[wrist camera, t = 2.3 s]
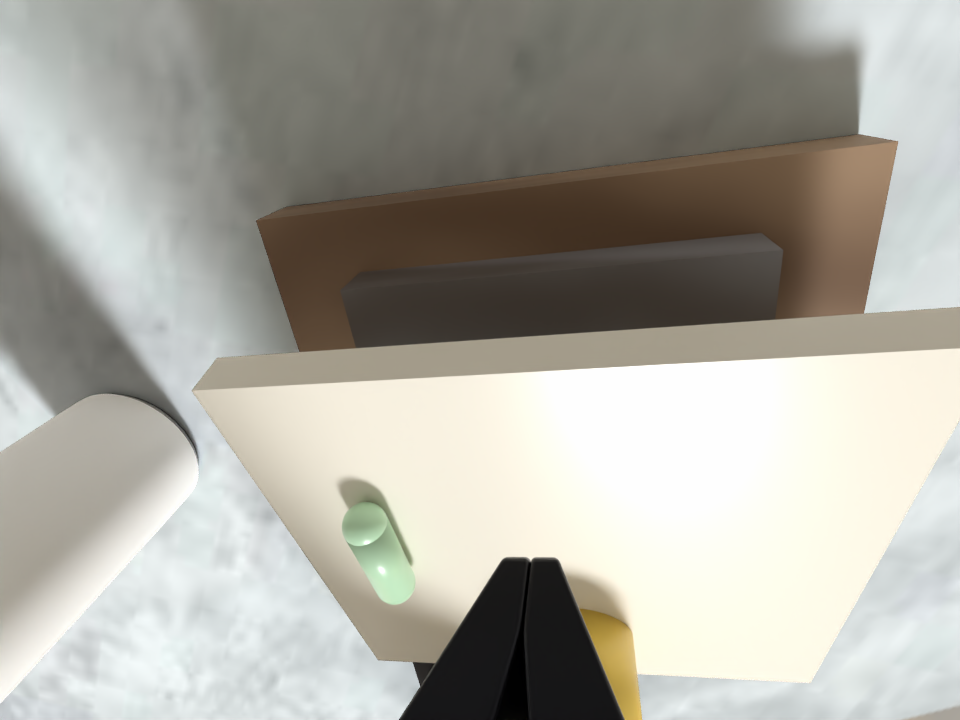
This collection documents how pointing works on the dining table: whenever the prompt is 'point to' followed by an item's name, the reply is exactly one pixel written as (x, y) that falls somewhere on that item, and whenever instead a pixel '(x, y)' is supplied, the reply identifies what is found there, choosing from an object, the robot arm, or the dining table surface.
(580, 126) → the dining table surface
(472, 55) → the dining table surface
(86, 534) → the can
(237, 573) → the dining table surface
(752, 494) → the plate
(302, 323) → the walnut base
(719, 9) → the dining table surface
